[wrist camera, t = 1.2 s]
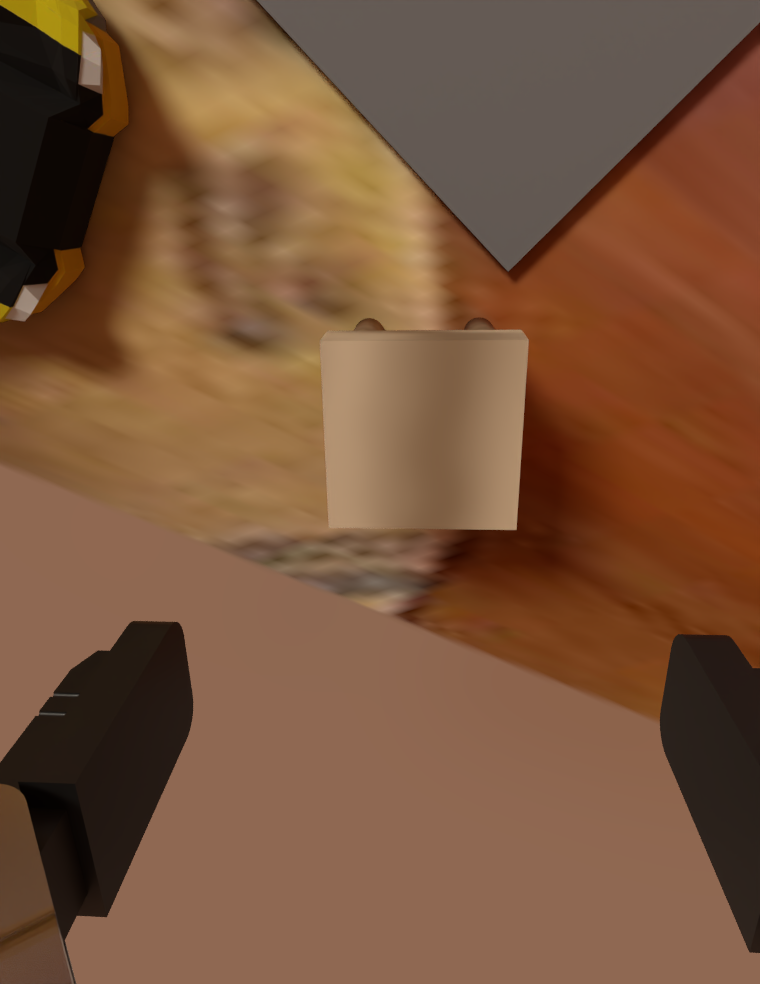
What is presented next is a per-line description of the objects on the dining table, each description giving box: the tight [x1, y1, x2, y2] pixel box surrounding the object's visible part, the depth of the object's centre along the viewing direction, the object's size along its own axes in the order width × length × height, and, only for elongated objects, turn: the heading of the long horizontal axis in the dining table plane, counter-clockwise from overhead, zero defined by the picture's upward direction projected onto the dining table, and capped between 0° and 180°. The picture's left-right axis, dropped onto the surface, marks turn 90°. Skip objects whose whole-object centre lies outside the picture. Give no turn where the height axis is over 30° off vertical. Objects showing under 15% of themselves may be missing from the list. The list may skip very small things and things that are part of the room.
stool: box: [320, 318, 529, 530], centre depth 26 cm, size 6×6×7 cm
